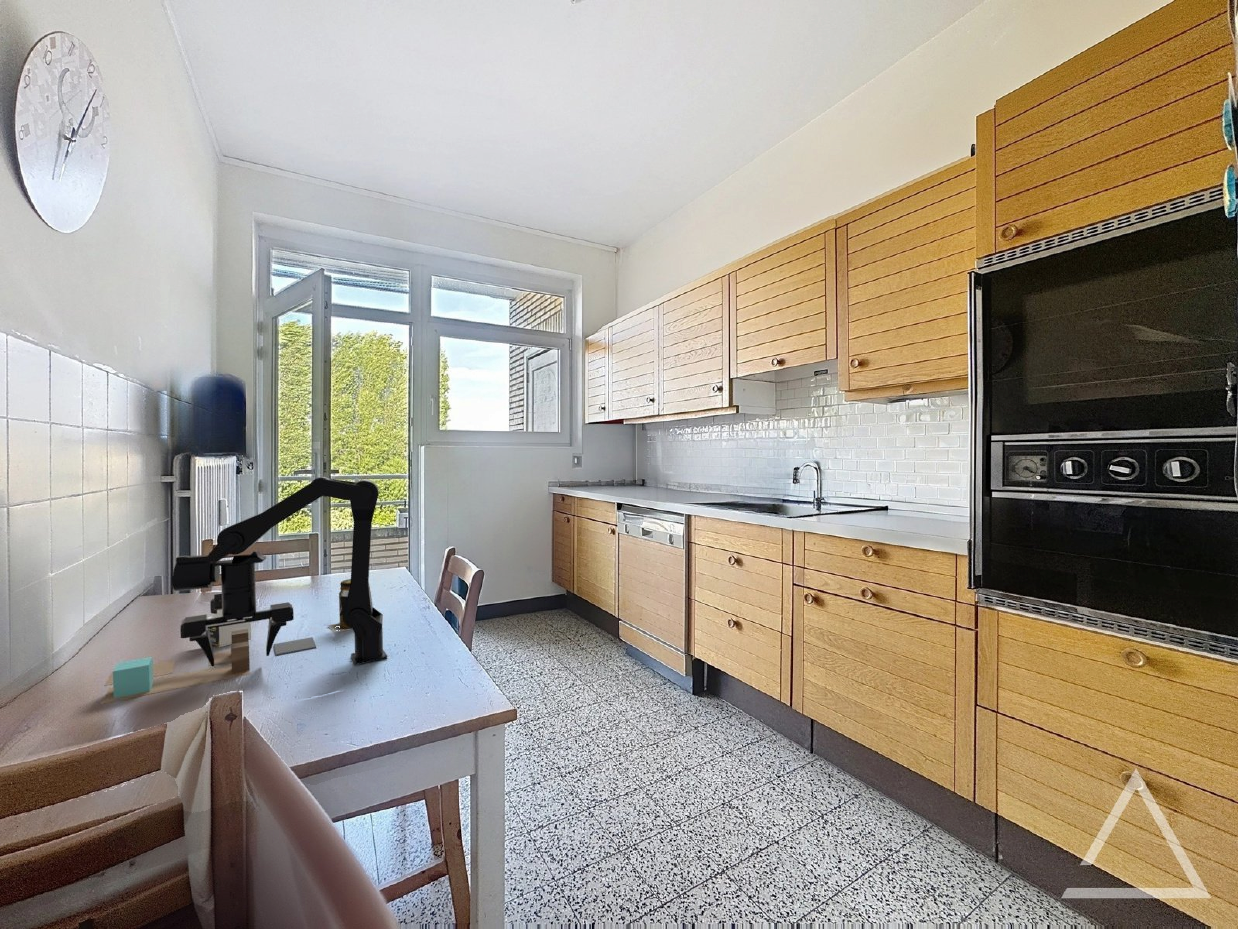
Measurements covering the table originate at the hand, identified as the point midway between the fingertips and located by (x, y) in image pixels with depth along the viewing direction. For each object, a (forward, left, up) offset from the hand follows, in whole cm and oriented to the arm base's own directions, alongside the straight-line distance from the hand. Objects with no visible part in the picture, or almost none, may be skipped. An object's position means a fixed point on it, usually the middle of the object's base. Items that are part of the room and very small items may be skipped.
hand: (240, 660), depth 112 cm
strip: (0, +10, -3) cm, 10 cm away
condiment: (+22, -23, -4) cm, 32 cm away
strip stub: (+10, +2, -3) cm, 11 cm away
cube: (0, +17, -2) cm, 17 cm away
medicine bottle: (+23, +3, -4) cm, 23 cm away
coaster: (+12, -10, -3) cm, 16 cm away
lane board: (+5, +14, -3) cm, 15 cm away
